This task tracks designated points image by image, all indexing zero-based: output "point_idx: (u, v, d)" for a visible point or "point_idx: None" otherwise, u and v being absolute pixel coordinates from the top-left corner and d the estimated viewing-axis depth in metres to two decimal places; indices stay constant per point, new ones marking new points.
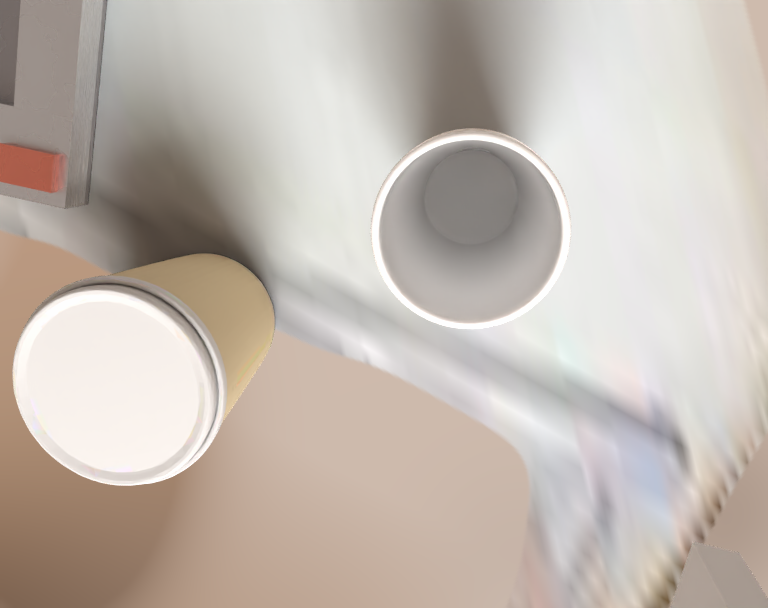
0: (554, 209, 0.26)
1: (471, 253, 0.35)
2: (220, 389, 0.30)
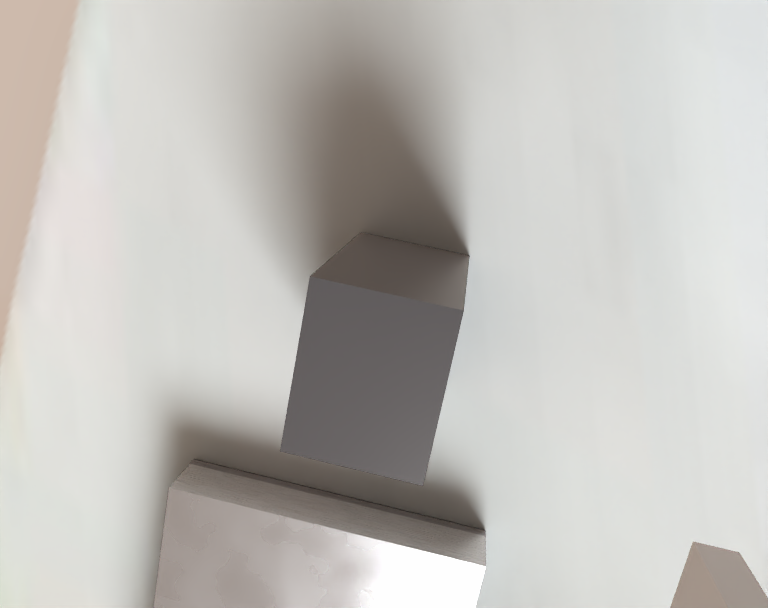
0: None
1: None
2: None
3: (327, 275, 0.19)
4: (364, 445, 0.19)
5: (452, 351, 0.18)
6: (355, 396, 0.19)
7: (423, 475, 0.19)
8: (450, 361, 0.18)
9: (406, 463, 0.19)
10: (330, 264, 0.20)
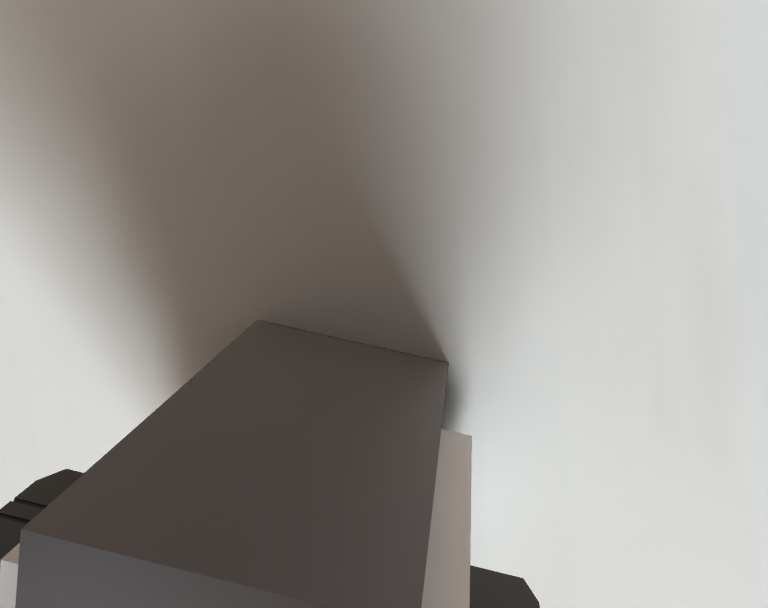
0: None
1: None
2: None
3: (82, 510, 0.08)
4: None
5: None
6: None
7: None
8: None
9: None
10: (123, 452, 0.09)
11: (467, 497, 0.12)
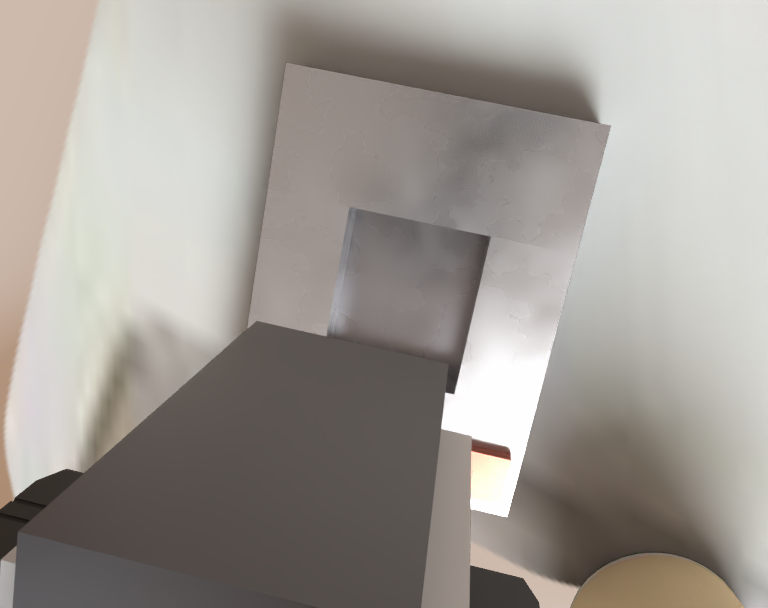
0: None
1: None
2: None
3: (79, 513, 0.08)
4: None
5: None
6: None
7: None
8: None
9: None
10: (121, 453, 0.09)
11: (467, 497, 0.12)
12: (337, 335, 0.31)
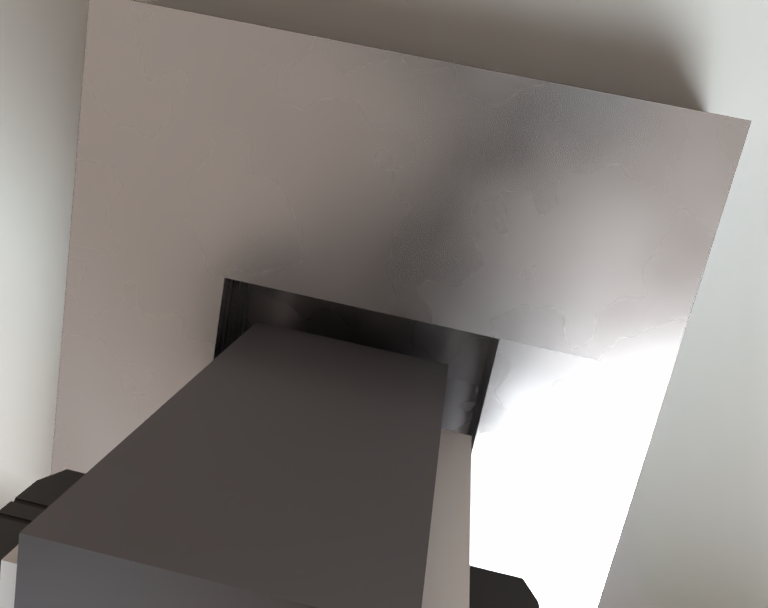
0: None
1: None
2: None
3: (81, 514, 0.08)
4: None
5: None
6: None
7: None
8: None
9: None
10: (122, 454, 0.09)
11: (467, 497, 0.12)
12: None
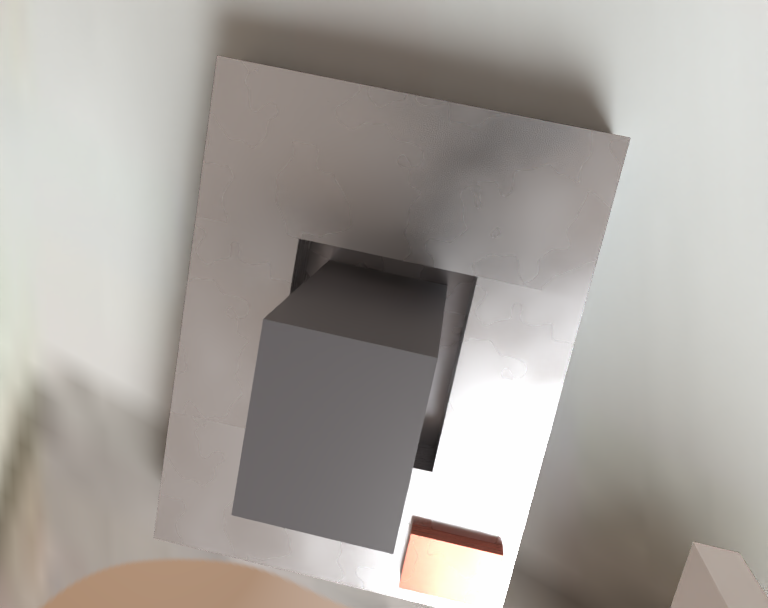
0: None
1: None
2: None
3: (283, 316, 0.17)
4: (326, 508, 0.17)
5: (425, 404, 0.16)
6: (315, 454, 0.17)
7: (393, 542, 0.17)
8: (423, 415, 0.16)
9: (374, 529, 0.17)
10: (289, 302, 0.18)
11: None
12: None
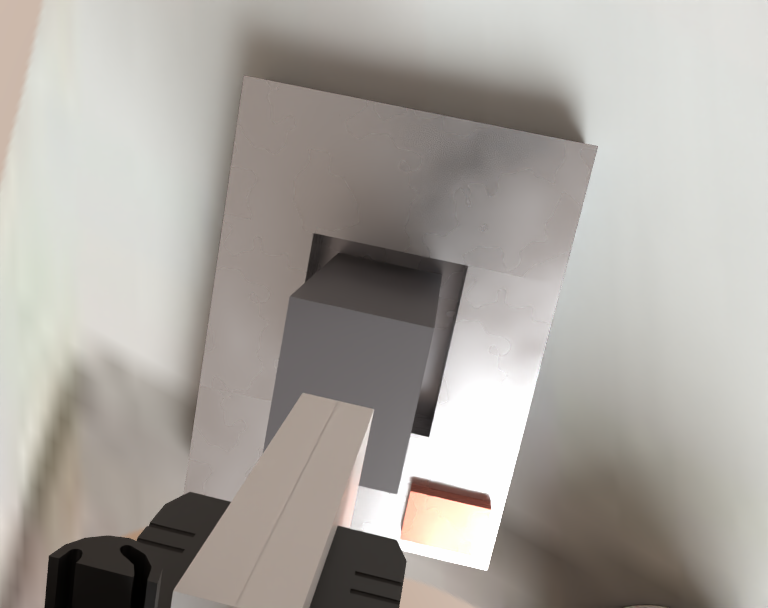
0: None
1: None
2: None
3: (306, 295, 0.20)
4: None
5: (424, 366, 0.20)
6: None
7: (397, 484, 0.20)
8: (422, 376, 0.20)
9: (381, 473, 0.20)
10: (309, 284, 0.21)
11: (351, 463, 0.12)
12: None
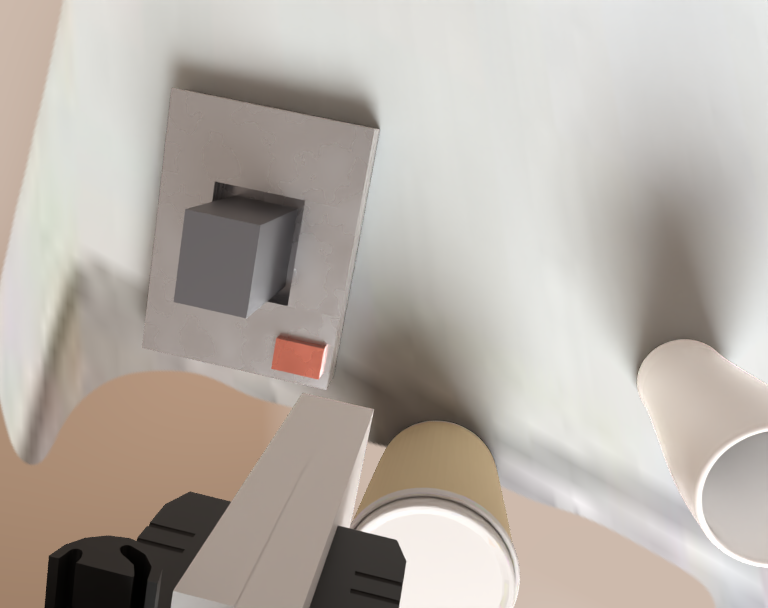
0: None
1: None
2: (517, 581, 0.36)
3: (195, 209, 0.37)
4: (215, 297, 0.38)
5: (256, 246, 0.37)
6: (210, 271, 0.37)
7: (246, 312, 0.38)
8: (255, 251, 0.37)
9: (237, 306, 0.38)
10: (201, 206, 0.39)
11: (350, 463, 0.12)
12: None
